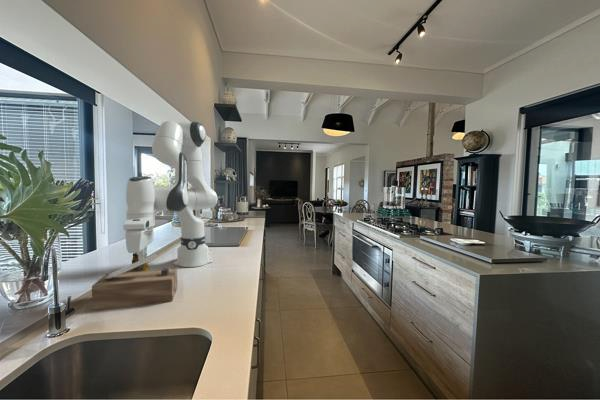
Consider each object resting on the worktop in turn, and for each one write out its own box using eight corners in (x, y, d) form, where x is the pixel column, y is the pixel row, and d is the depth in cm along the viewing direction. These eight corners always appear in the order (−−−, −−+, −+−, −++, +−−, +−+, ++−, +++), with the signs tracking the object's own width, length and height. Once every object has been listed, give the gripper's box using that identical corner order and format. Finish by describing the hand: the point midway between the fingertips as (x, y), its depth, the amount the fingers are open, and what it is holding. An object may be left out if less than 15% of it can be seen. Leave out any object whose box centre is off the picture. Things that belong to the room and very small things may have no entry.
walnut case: (107, 294, 99) (106, 268, 99) (177, 288, 106) (176, 263, 105) (92, 309, 88) (91, 280, 87) (172, 301, 95) (171, 273, 94)
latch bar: (110, 276, 96) (109, 273, 96) (157, 256, 100) (156, 252, 99) (105, 281, 92) (103, 277, 91) (154, 259, 96) (153, 255, 95)
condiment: (153, 277, 118) (152, 250, 117) (140, 284, 109) (140, 256, 108) (137, 277, 118) (136, 250, 117) (123, 284, 110) (122, 255, 109)
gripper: (139, 218, 104) (140, 253, 105) (121, 225, 85) (122, 268, 85) (157, 218, 106) (158, 252, 107) (143, 224, 86) (144, 266, 87)
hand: (142, 259), depth 96 cm, fingers closed, pressing on latch bar
